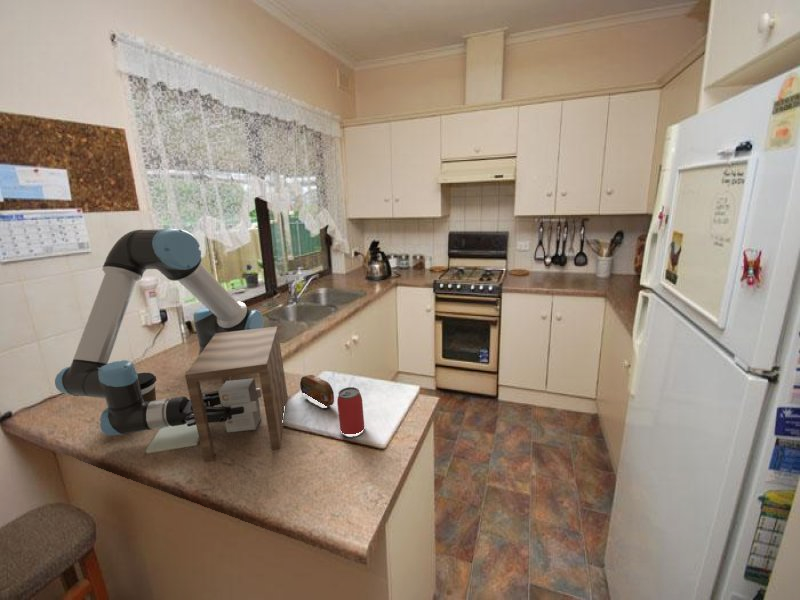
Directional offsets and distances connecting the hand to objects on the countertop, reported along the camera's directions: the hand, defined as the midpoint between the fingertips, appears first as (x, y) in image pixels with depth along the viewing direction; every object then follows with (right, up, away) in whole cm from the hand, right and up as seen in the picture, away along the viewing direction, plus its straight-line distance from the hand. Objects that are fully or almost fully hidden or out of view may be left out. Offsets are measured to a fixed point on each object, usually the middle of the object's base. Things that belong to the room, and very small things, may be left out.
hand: (258, 399), depth 105 cm
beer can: (+27, -8, -4) cm, 29 cm away
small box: (-4, -8, +1) cm, 9 cm away
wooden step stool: (-3, -8, +2) cm, 8 cm away
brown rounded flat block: (+15, -4, +11) cm, 19 cm away
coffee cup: (-39, -8, +9) cm, 41 cm away
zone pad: (-21, -10, -2) cm, 23 cm away
